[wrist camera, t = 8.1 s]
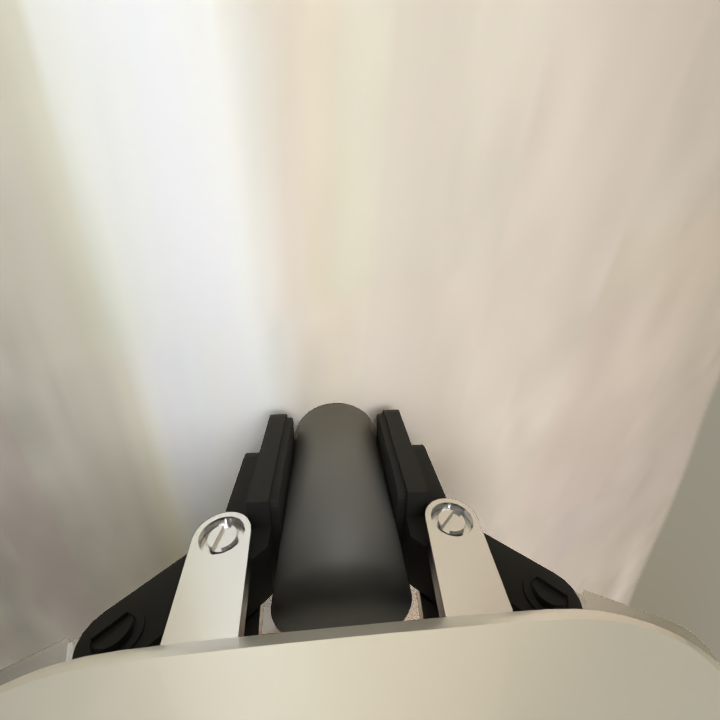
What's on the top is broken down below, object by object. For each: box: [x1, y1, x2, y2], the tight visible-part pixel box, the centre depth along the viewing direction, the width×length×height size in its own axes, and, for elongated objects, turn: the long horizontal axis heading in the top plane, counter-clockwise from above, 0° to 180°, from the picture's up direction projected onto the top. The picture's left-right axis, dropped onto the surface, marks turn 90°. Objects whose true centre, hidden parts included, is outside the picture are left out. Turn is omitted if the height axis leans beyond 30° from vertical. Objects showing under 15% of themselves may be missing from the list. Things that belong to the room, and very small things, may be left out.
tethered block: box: [271, 403, 412, 633], centre depth 13 cm, size 18×6×6 cm, turn 0°
